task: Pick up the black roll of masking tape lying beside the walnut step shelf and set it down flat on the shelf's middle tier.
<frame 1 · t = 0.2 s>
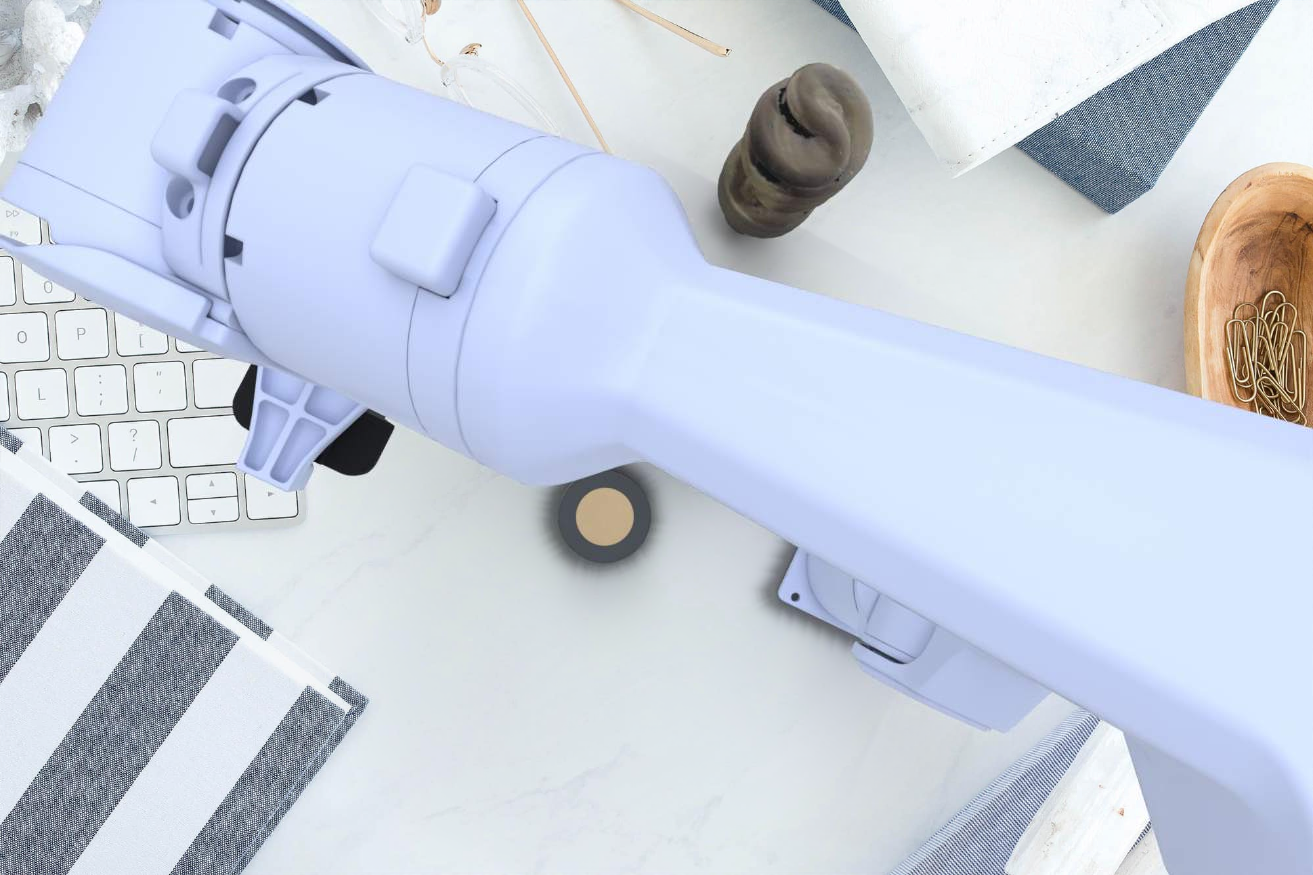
hand: (402, 330, 41), 10 cm above the table, tool pointing down, fingers open, 7 cm apart
brown carved figurine: (747, 213, 53), on the table
tape: (602, 513, 52), on the table
steps: (671, 372, 52), on the table
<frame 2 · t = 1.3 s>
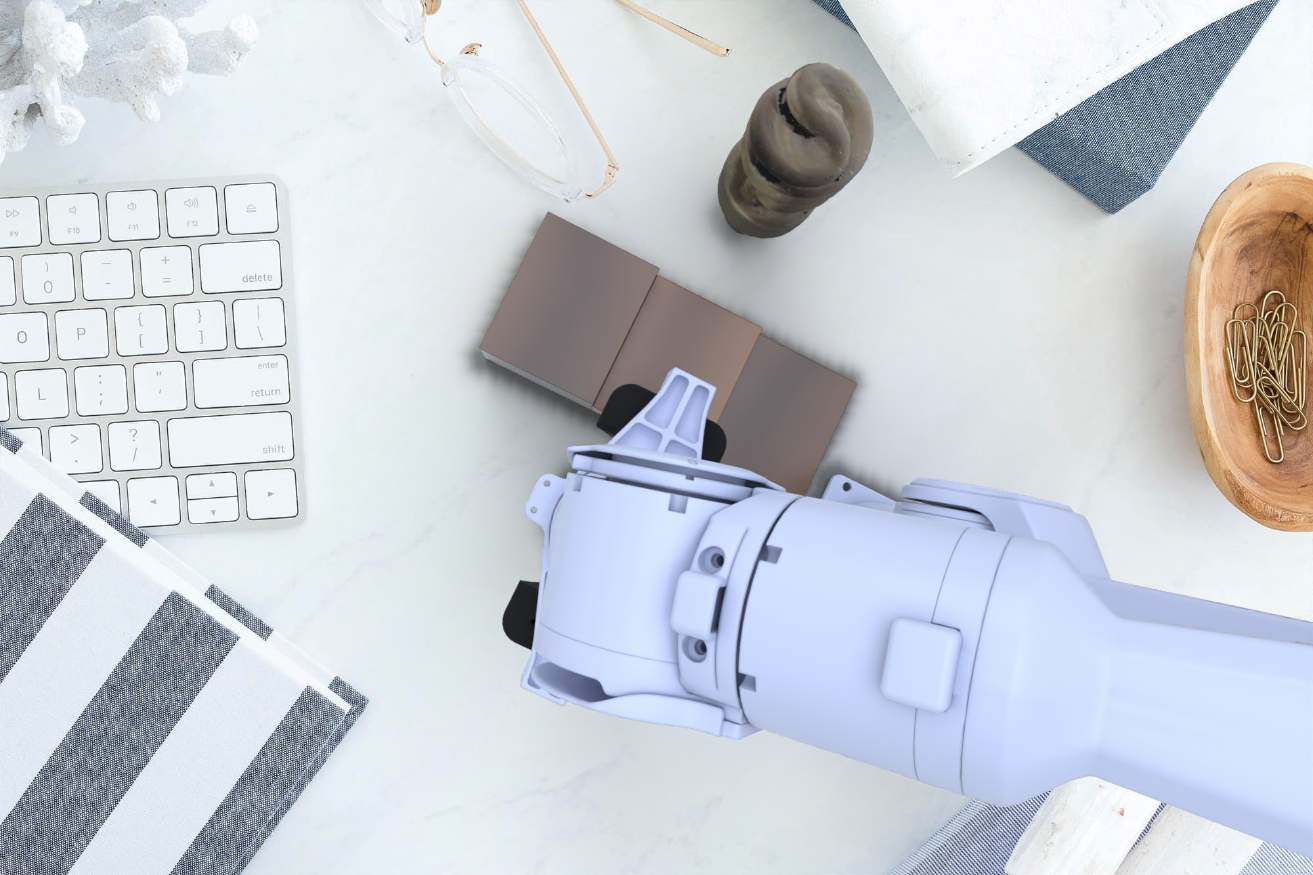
hand: (606, 519, 47), 5 cm above the table, tool pointing down, fingers open, 7 cm apart
nothing on the table moved.
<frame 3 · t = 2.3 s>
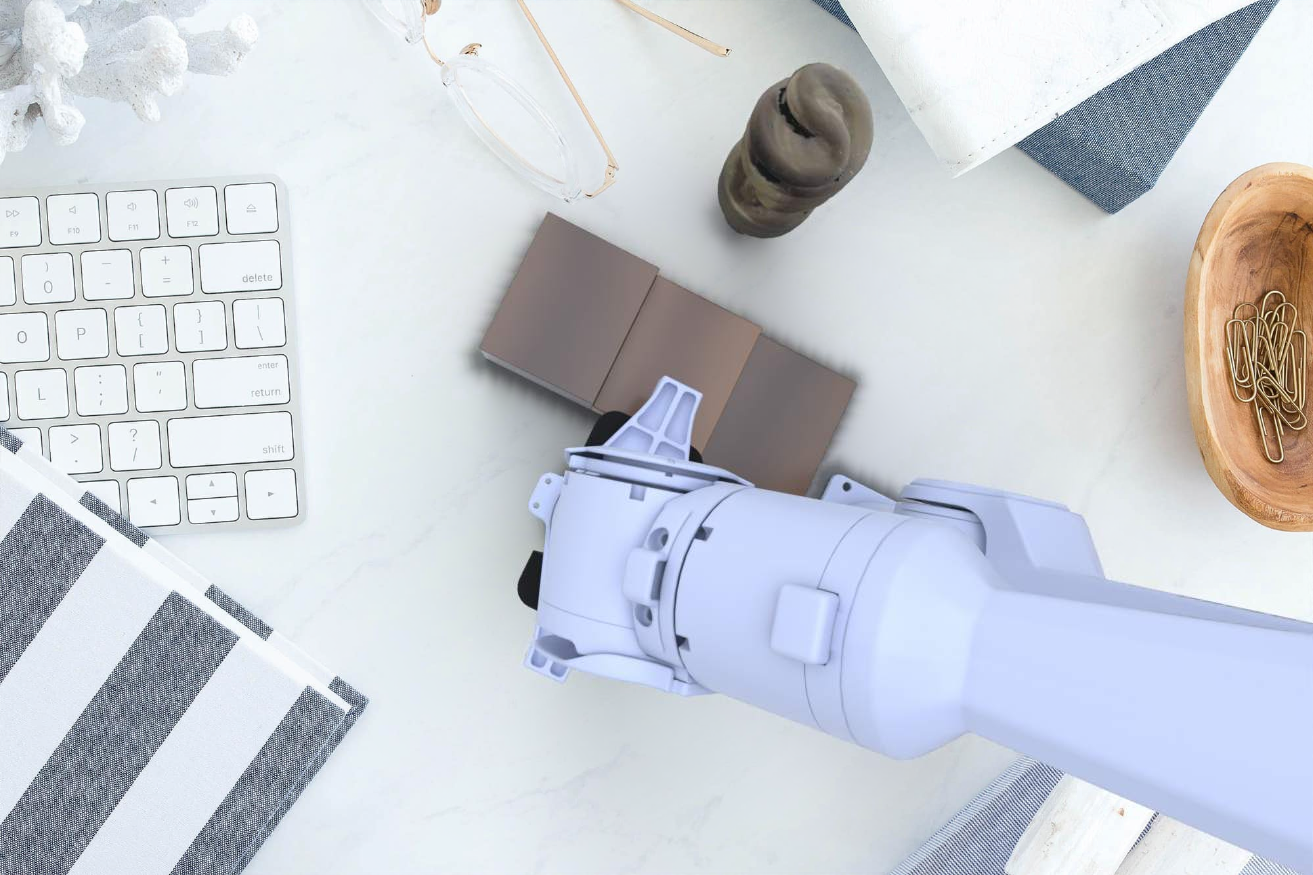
hand: (603, 515, 50), 1 cm above the table, tool pointing down, fingers closed on tape, 5 cm apart
tape: (602, 514, 52), on the table, touching gripper
everything else where it was.
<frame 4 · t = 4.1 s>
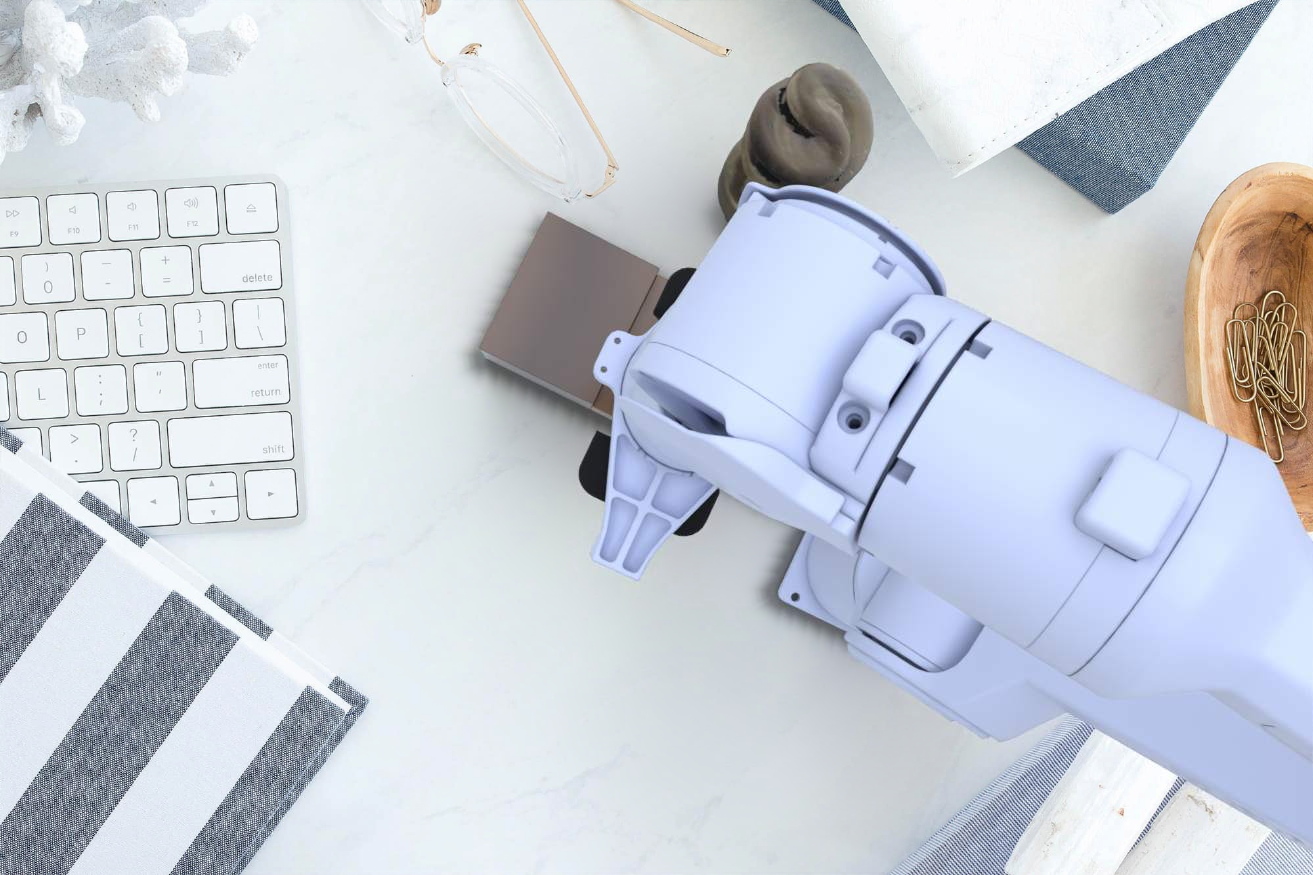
hand: (666, 409, 44), 8 cm above the table, tool pointing down, fingers closed on tape, 5 cm apart
tape: (662, 411, 45), point 7 cm above the table, touching gripper
everything else where it was.
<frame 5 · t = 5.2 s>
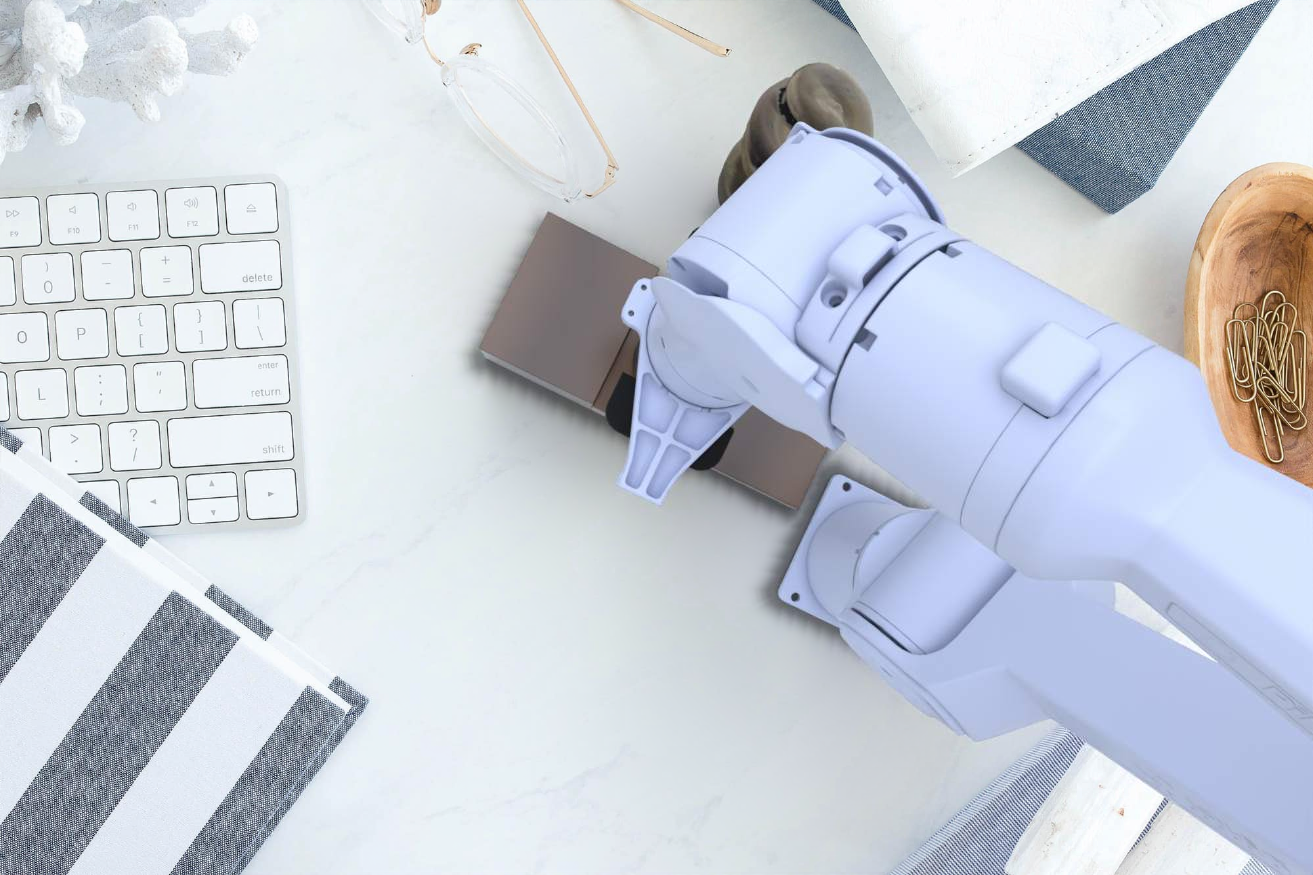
hand: (683, 362, 47), 5 cm above the table, tool pointing down, fingers closed on tape, 5 cm apart
tape: (679, 365, 49), point 4 cm above the table, touching gripper
everything else where it was.
when the fingers open (4 cm above the table, at t = 5.9 s): tape stays where it is, resting on steps.
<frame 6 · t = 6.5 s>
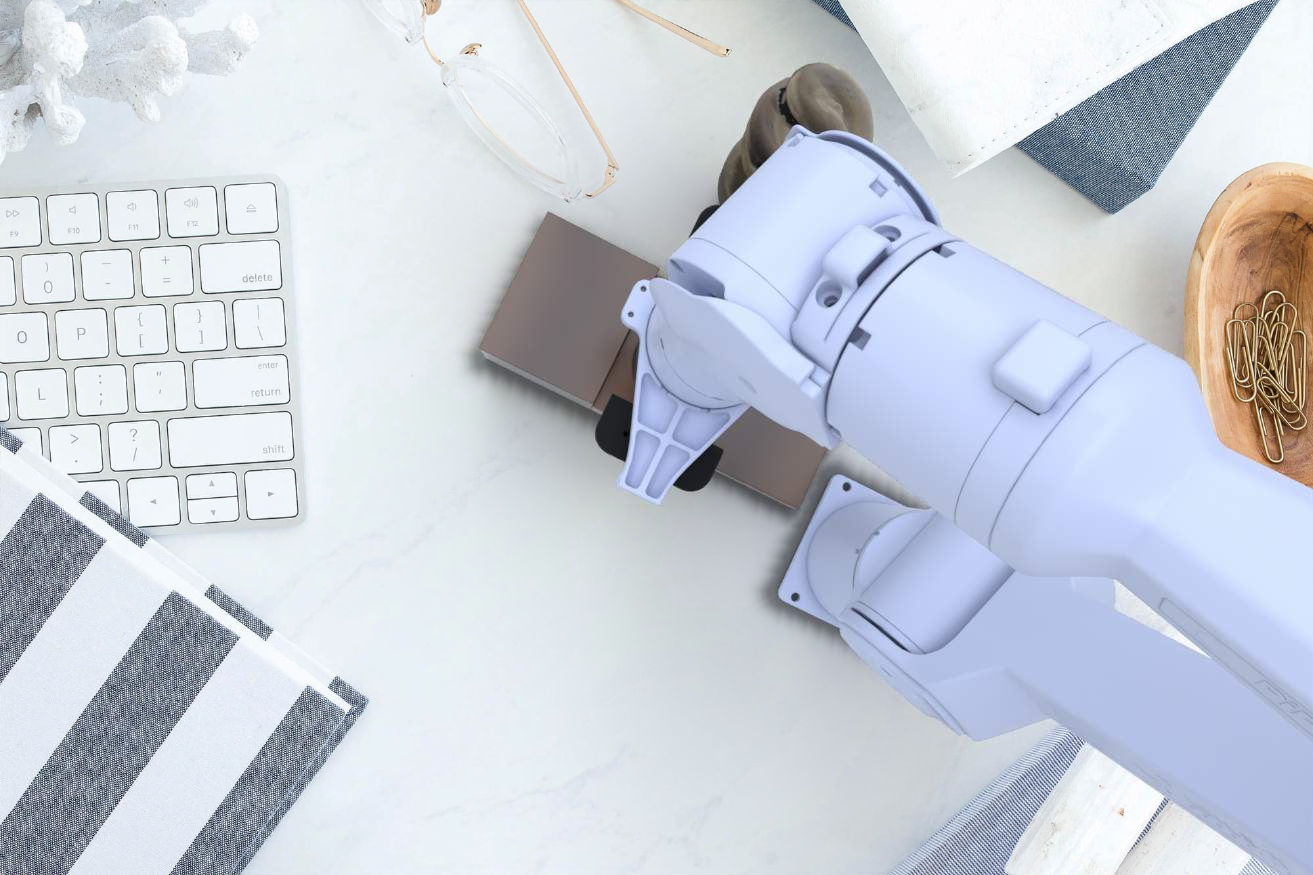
hand: (683, 363, 48), 5 cm above the table, tool pointing down, fingers open, 7 cm apart
tape: (677, 366, 49), point 3 cm above the table, touching steps
everything else where it was.
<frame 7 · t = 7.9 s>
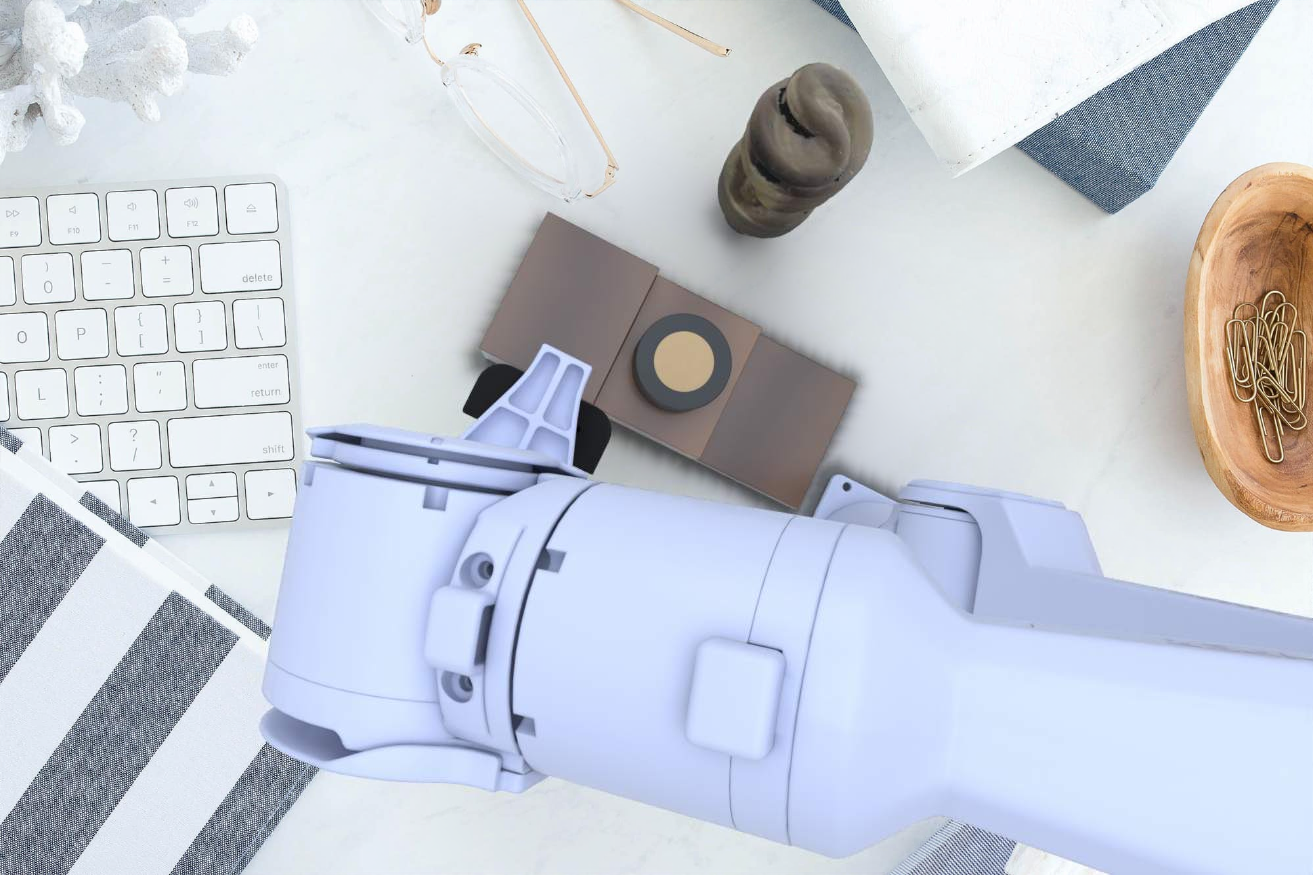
hand: (495, 518, 42), 9 cm above the table, tool pointing down, fingers open, 7 cm apart
nothing on the table moved.
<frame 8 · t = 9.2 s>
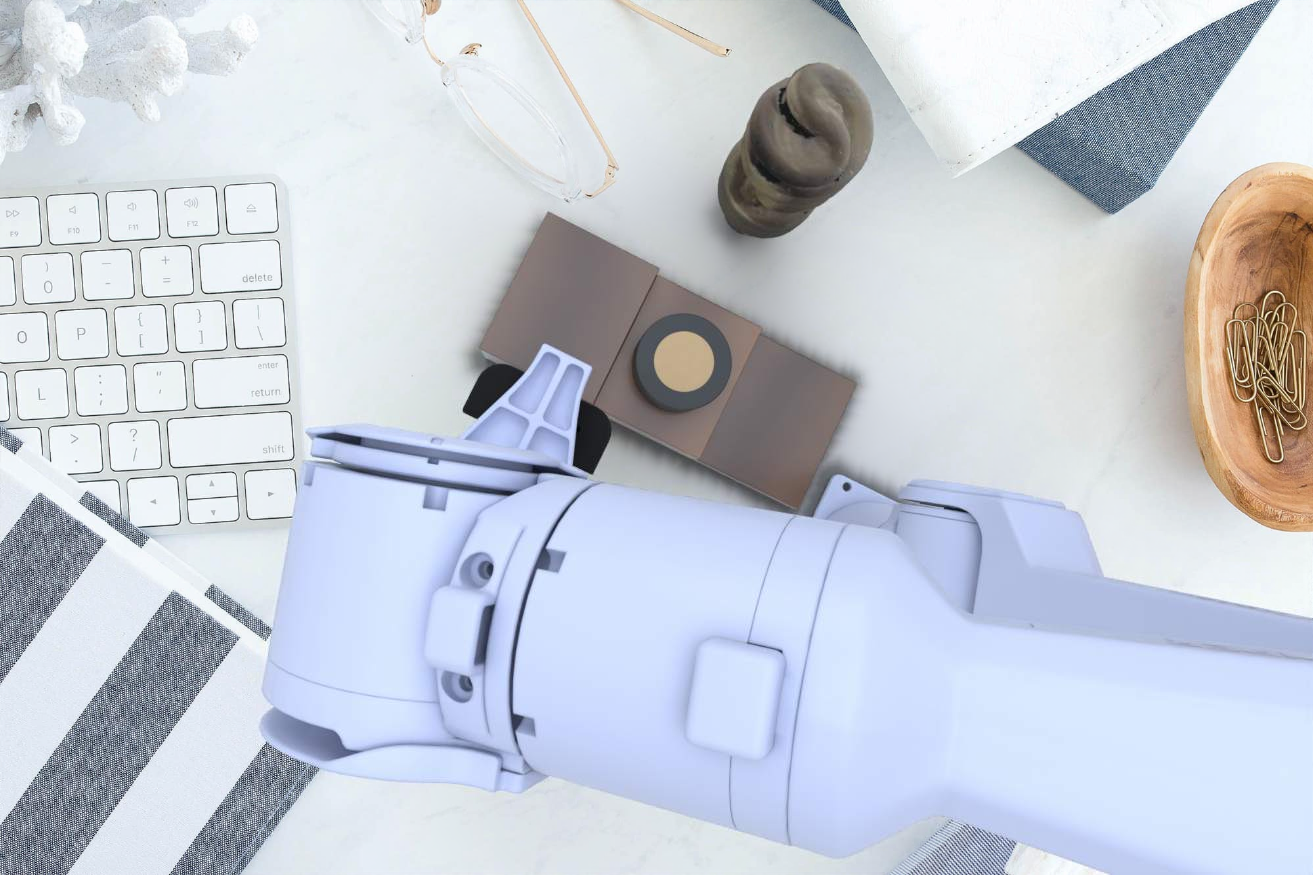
hand: (495, 518, 42), 9 cm above the table, tool pointing down, fingers open, 7 cm apart
nothing on the table moved.
at the end: tape inside the target area (0.1 cm from its centre), point 3.0 cm above the table; tape tilted 0°; tape point 3.0 cm above the table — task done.
